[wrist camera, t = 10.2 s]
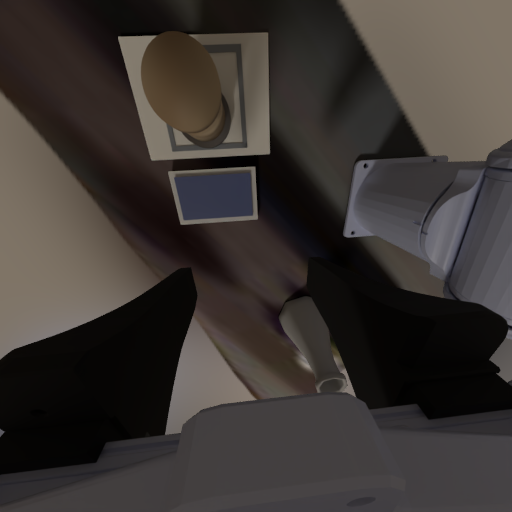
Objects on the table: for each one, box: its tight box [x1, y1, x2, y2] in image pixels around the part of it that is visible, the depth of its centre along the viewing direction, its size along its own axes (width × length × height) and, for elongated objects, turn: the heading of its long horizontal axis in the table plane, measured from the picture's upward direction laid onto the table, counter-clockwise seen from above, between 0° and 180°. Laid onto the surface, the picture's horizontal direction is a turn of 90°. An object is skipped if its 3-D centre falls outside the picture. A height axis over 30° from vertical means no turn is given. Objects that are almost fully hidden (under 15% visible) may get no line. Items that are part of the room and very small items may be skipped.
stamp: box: [141, 31, 231, 148], centre depth 13 cm, size 4×4×7 cm
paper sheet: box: [118, 33, 270, 161], centre depth 15 cm, size 11×8×1 cm
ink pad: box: [168, 167, 258, 225], centre depth 18 cm, size 8×5×1 cm, turn 93°
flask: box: [278, 296, 347, 393], centre depth 23 cm, size 7×7×10 cm
